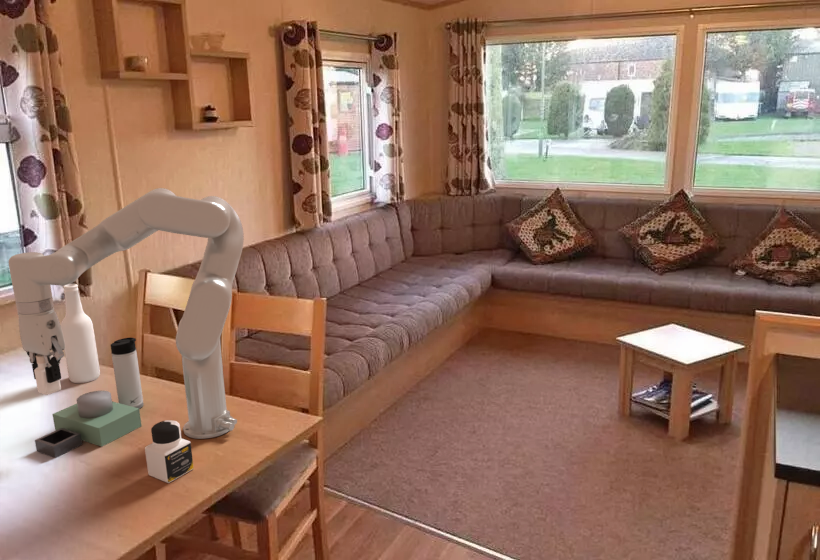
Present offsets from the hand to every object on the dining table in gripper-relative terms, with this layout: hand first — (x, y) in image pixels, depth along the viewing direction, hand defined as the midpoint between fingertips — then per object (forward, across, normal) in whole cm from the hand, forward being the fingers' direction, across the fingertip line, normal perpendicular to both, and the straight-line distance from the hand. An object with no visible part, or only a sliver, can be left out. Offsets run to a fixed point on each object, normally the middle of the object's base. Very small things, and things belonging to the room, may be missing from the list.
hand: (47, 378), depth 157 cm
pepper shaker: (+4, 0, 0) cm, 4 cm away
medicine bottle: (+19, -34, -4) cm, 39 cm away
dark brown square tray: (+18, 0, 0) cm, 18 cm away
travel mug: (+19, +3, -24) cm, 31 cm away
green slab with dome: (+18, 0, -11) cm, 21 cm away
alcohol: (+19, +34, -32) cm, 50 cm away
